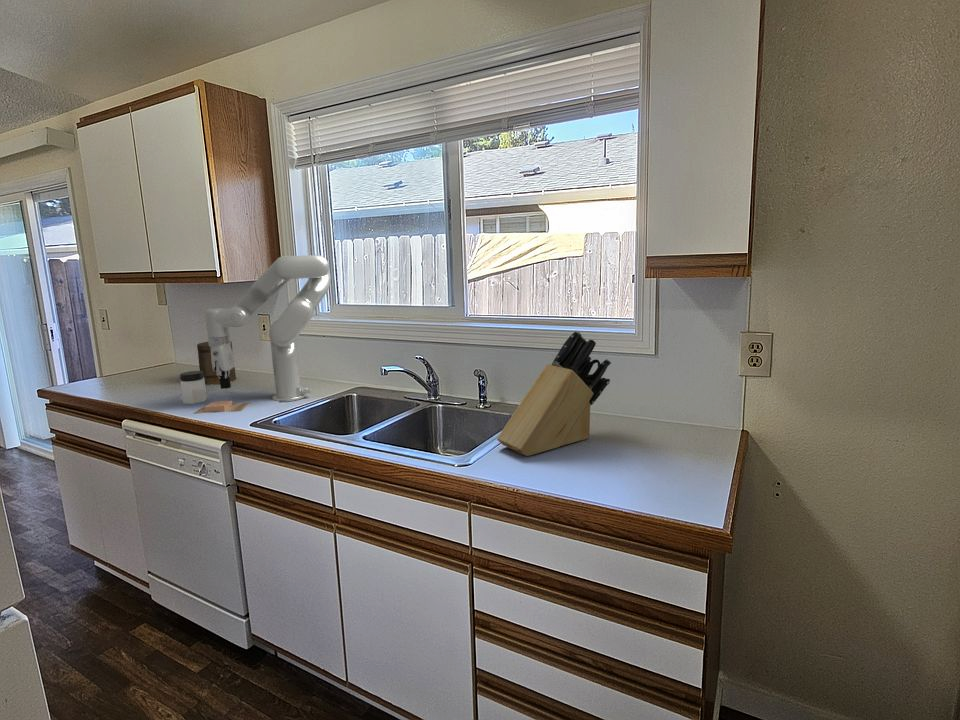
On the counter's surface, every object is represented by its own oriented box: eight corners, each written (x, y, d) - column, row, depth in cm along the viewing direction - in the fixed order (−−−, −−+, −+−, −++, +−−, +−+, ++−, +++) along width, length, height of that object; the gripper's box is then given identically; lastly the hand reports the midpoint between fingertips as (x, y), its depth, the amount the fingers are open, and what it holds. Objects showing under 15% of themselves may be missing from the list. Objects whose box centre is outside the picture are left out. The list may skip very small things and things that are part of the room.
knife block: (613, 432, 165) (614, 330, 160) (521, 460, 146) (518, 345, 140) (586, 424, 175) (586, 327, 169) (496, 449, 155) (492, 340, 149)
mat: (251, 403, 214) (251, 402, 214) (240, 412, 202) (240, 411, 202) (206, 406, 213) (206, 404, 213) (193, 415, 201) (192, 413, 201)
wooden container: (243, 378, 261) (237, 332, 257) (216, 385, 248) (210, 337, 244) (220, 376, 268) (215, 331, 263) (194, 383, 254) (187, 336, 250)
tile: (231, 400, 210) (224, 405, 202) (232, 405, 210) (224, 411, 203) (213, 401, 209) (204, 406, 202) (213, 406, 210) (205, 412, 202)
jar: (186, 400, 223) (182, 371, 221) (208, 398, 225) (204, 369, 223) (181, 406, 215) (177, 376, 212) (204, 403, 217) (200, 374, 215)
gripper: (221, 343, 202) (228, 392, 206) (236, 337, 217) (242, 383, 220) (200, 345, 202) (208, 393, 205) (216, 338, 216) (223, 384, 220)
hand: (225, 388), depth 213 cm, fingers closed
